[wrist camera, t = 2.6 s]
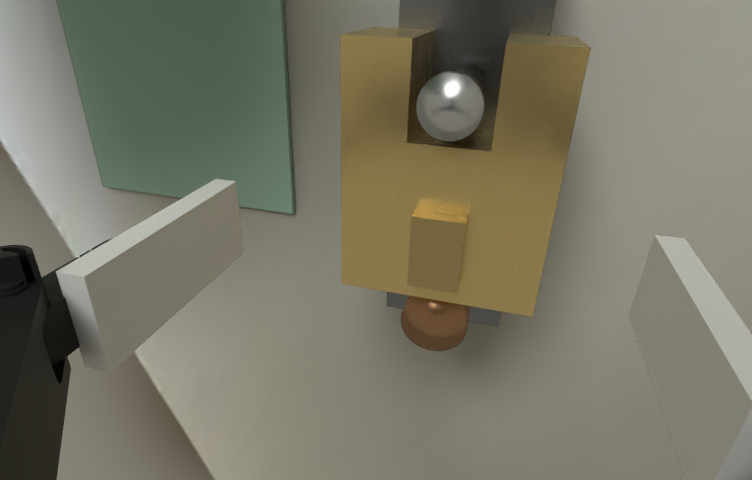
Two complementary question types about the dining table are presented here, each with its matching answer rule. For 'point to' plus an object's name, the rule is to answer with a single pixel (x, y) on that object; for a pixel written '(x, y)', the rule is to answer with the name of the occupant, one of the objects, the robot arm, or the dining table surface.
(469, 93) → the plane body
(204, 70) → the mat
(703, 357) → the robot arm
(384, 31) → the lever cap
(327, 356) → the dining table surface
